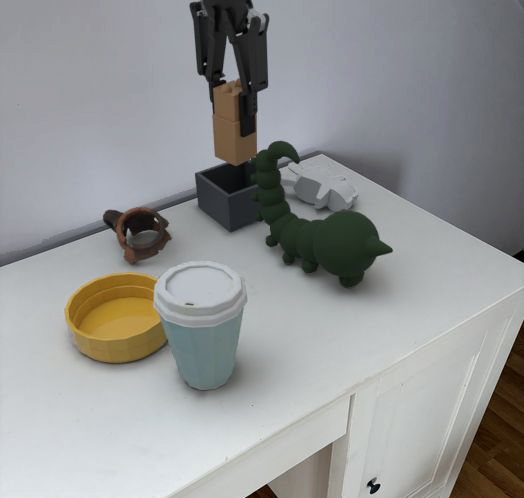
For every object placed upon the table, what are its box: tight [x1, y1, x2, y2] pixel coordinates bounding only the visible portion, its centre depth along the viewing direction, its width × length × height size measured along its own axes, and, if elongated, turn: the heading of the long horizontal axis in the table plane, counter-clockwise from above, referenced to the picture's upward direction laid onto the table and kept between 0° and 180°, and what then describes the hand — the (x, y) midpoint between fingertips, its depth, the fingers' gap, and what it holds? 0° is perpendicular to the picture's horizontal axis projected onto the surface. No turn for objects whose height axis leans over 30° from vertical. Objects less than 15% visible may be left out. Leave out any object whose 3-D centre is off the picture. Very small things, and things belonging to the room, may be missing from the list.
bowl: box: [64, 271, 168, 364], centre depth 77 cm, size 14×14×4 cm
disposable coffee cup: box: [153, 260, 249, 391], centre depth 67 cm, size 11×11×15 cm
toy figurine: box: [250, 140, 394, 289], centre depth 82 cm, size 9×19×25 cm
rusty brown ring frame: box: [102, 206, 173, 265], centre depth 91 cm, size 12×10×8 cm
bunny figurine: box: [280, 161, 360, 213], centre depth 101 cm, size 10×5×15 cm
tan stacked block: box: [211, 77, 258, 166], centre depth 89 cm, size 5×5×12 cm
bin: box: [194, 159, 262, 233], centre depth 98 cm, size 10×10×7 cm
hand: (234, 128), depth 90 cm, fingers closed on tan stacked block, 5 cm apart
